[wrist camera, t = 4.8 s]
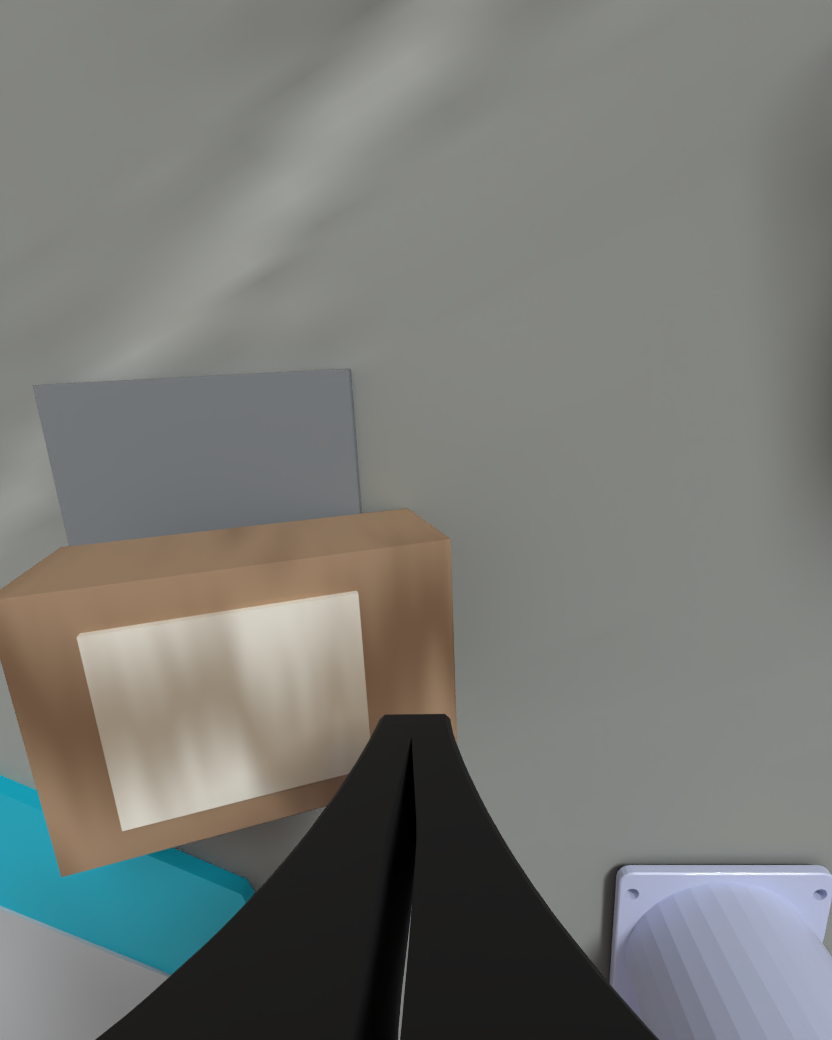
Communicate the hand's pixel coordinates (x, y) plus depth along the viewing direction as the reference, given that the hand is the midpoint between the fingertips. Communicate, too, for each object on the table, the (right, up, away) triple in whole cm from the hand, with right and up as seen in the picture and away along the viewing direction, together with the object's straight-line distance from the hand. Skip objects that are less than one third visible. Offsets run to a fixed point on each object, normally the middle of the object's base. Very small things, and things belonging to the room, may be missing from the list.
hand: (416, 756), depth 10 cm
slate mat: (-7, +2, +8) cm, 10 cm away
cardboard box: (0, +1, +5) cm, 6 cm away
